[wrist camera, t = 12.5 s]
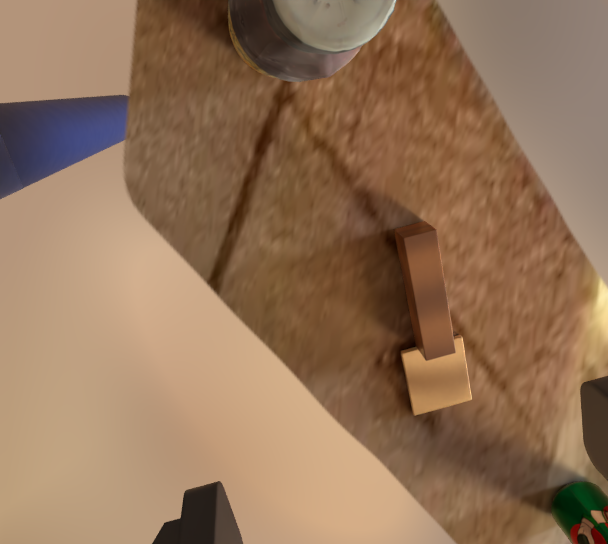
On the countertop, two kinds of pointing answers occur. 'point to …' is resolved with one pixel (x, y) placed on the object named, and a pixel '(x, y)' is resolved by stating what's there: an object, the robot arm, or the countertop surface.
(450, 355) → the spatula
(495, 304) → the countertop surface
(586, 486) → the soda can
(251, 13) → the sauce bottle
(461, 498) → the countertop surface
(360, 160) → the countertop surface
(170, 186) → the countertop surface
